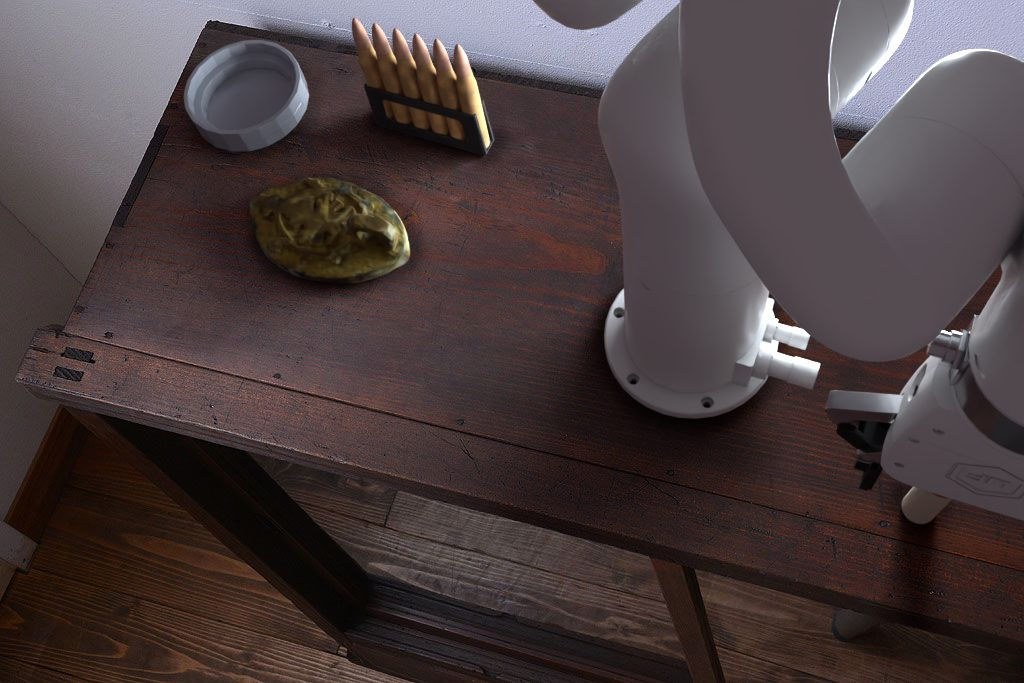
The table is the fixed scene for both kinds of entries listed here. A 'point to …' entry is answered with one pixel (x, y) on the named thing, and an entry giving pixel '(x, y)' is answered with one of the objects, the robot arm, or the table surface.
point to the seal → (329, 231)
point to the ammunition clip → (423, 90)
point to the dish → (246, 95)
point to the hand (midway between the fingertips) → (948, 493)
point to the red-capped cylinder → (922, 505)
